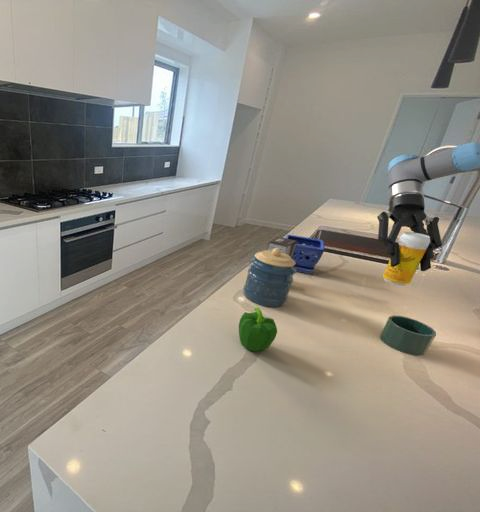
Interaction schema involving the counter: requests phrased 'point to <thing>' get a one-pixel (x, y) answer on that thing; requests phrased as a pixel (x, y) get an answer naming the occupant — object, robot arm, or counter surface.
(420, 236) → the yellow and white cup
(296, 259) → the flower pot
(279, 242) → the coffee box
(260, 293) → the canister
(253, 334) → the bell pepper
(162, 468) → the counter surface
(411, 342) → the holder
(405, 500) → the counter surface
